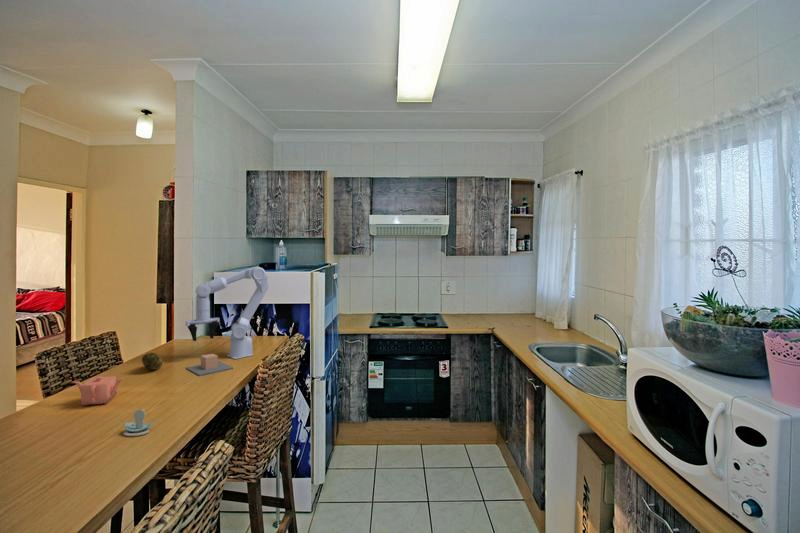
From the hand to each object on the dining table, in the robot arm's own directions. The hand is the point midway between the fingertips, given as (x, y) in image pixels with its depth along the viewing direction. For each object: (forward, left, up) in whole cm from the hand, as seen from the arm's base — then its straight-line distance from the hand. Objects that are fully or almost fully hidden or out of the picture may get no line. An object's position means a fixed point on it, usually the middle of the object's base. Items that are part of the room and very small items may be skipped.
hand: (203, 339), depth 188 cm
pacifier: (+43, +61, -10) cm, 75 cm away
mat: (+4, +16, -9) cm, 19 cm away
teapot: (+45, +26, -10) cm, 53 cm away
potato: (+21, +1, -10) cm, 23 cm away
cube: (+4, +16, -9) cm, 18 cm away
